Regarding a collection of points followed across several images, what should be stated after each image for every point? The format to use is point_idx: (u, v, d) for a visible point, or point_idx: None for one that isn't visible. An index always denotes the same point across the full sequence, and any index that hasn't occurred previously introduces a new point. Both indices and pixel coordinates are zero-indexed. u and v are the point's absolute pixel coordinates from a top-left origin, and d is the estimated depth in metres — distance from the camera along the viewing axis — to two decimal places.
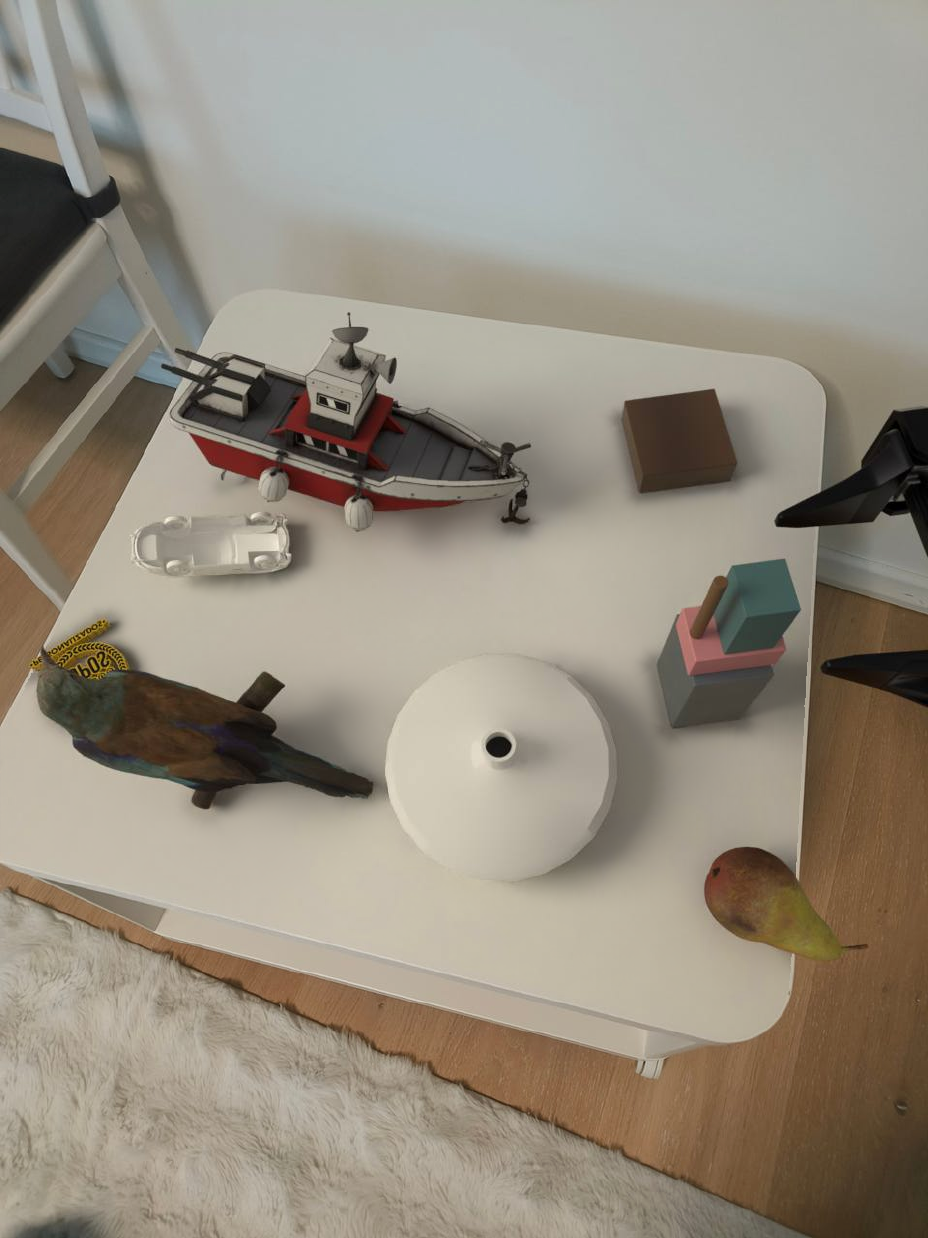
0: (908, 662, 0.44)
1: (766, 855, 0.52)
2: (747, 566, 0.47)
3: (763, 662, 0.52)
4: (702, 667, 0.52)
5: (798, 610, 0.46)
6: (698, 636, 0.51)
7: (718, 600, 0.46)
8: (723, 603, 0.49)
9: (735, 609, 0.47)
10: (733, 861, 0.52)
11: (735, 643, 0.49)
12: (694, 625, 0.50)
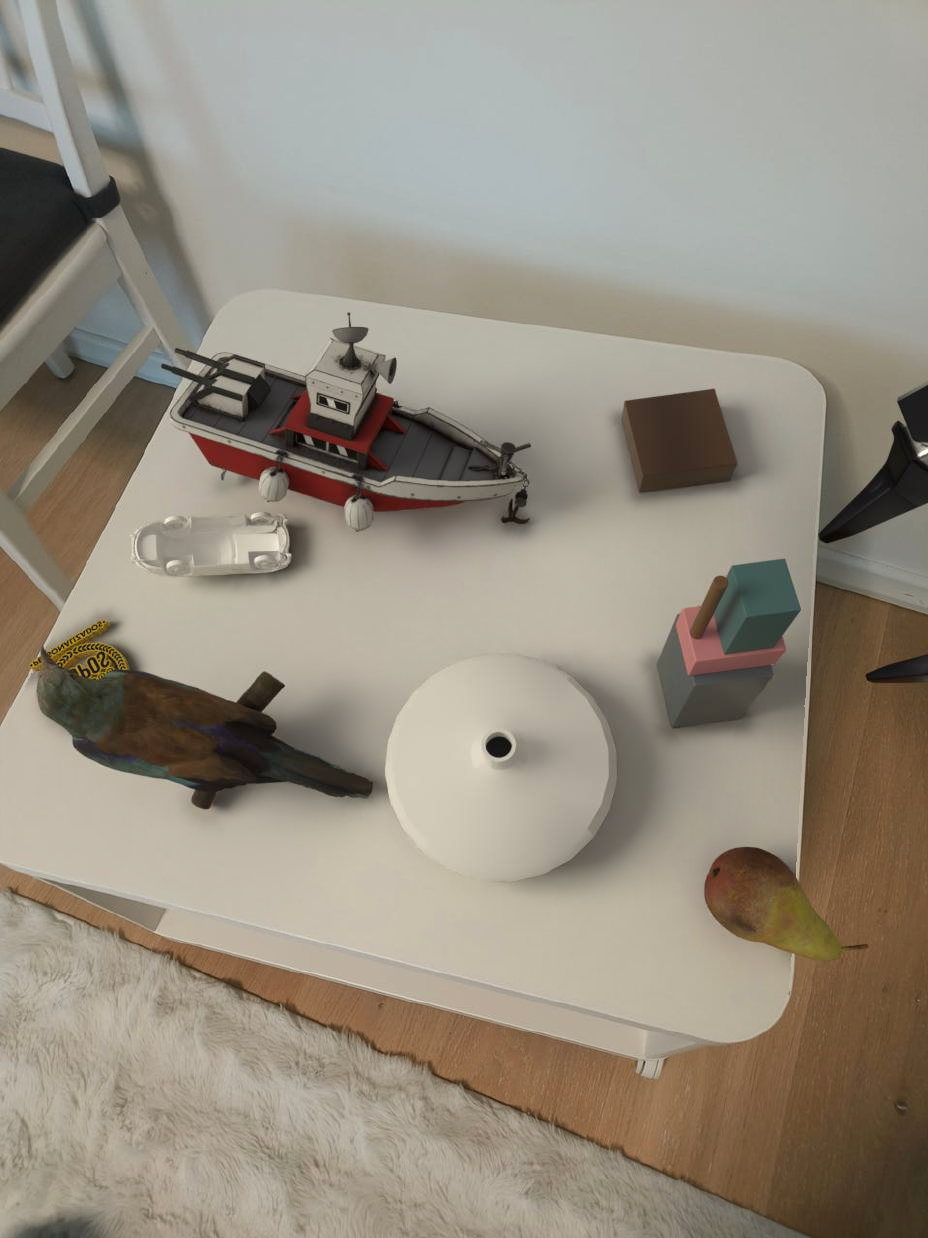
0: None
1: (766, 855, 0.52)
2: (747, 566, 0.47)
3: (763, 662, 0.52)
4: (702, 667, 0.52)
5: (798, 610, 0.46)
6: (698, 636, 0.51)
7: (718, 600, 0.46)
8: (723, 603, 0.49)
9: (735, 609, 0.47)
10: (733, 861, 0.52)
11: (735, 643, 0.49)
12: (694, 625, 0.50)
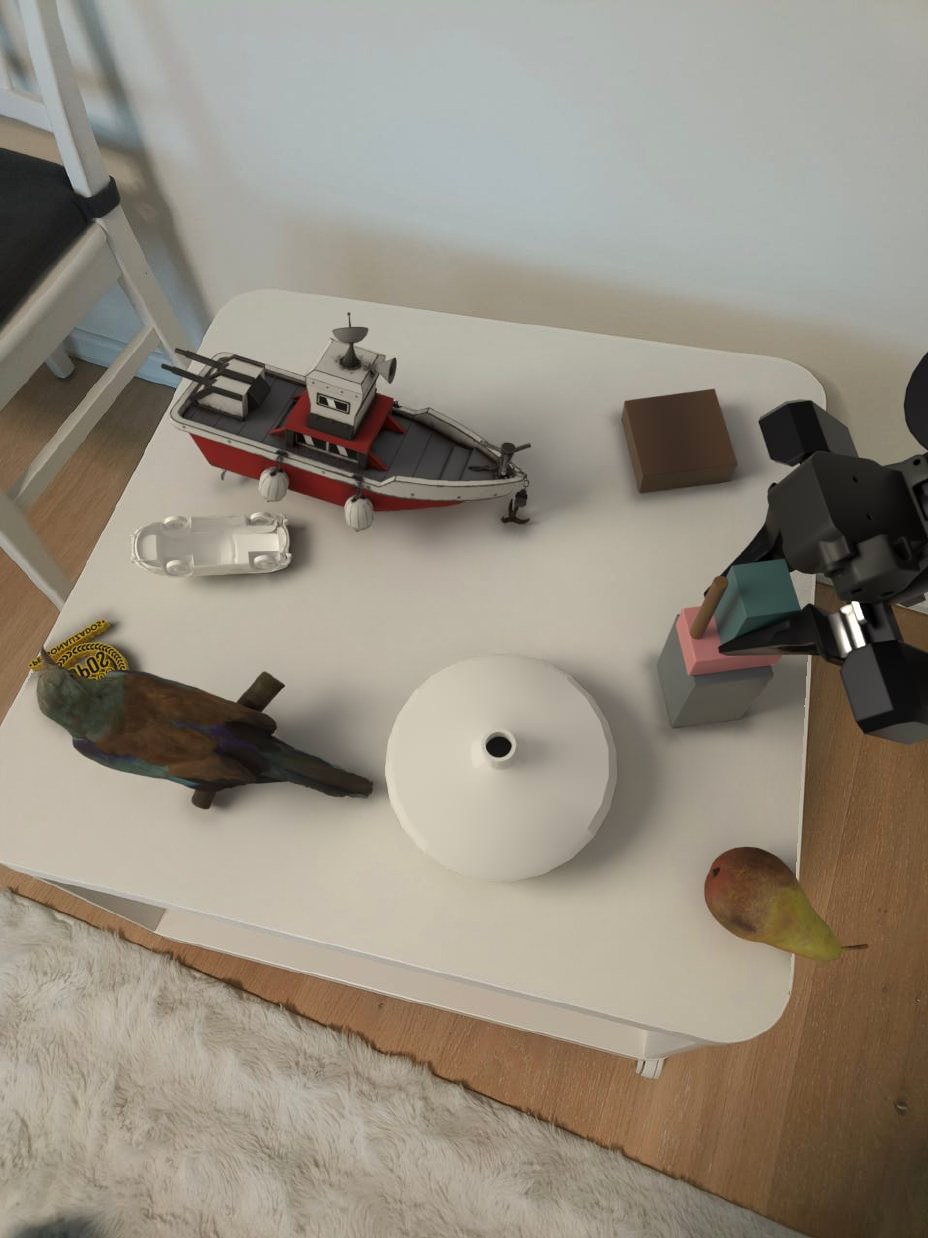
0: (772, 636, 0.46)
1: (766, 855, 0.52)
2: (747, 567, 0.47)
3: (763, 662, 0.52)
4: (702, 667, 0.52)
5: (798, 610, 0.46)
6: (698, 636, 0.51)
7: (718, 600, 0.46)
8: (723, 603, 0.49)
9: (735, 609, 0.47)
10: (733, 861, 0.52)
11: None
12: (694, 625, 0.50)
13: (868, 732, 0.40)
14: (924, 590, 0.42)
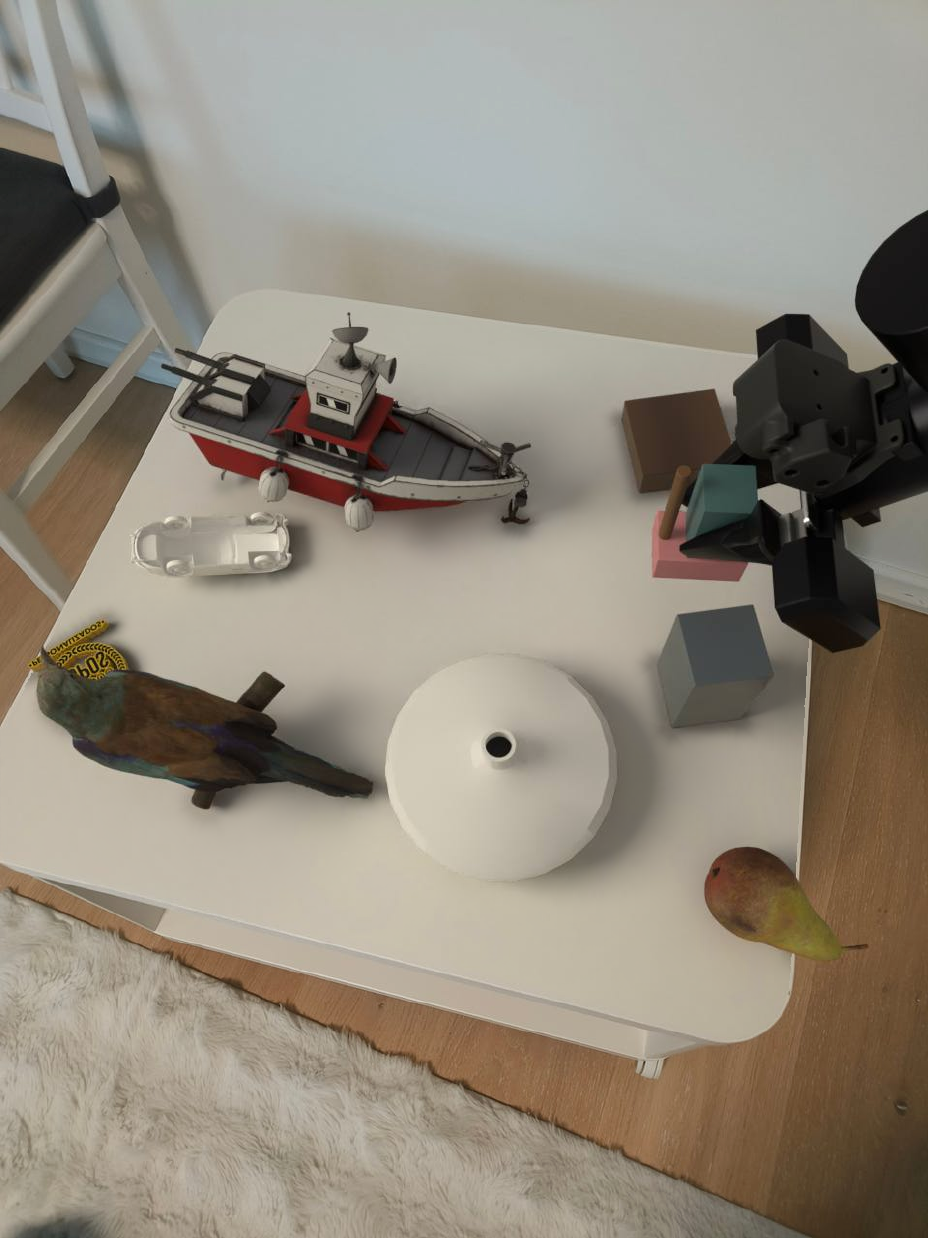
0: (727, 534, 0.47)
1: (766, 855, 0.52)
2: (717, 467, 0.48)
3: (726, 576, 0.53)
4: (665, 568, 0.53)
5: None
6: (665, 536, 0.52)
7: (681, 492, 0.48)
8: (692, 505, 0.51)
9: (699, 506, 0.49)
10: (733, 861, 0.52)
11: None
12: (661, 523, 0.52)
13: (785, 620, 0.41)
14: (873, 502, 0.43)
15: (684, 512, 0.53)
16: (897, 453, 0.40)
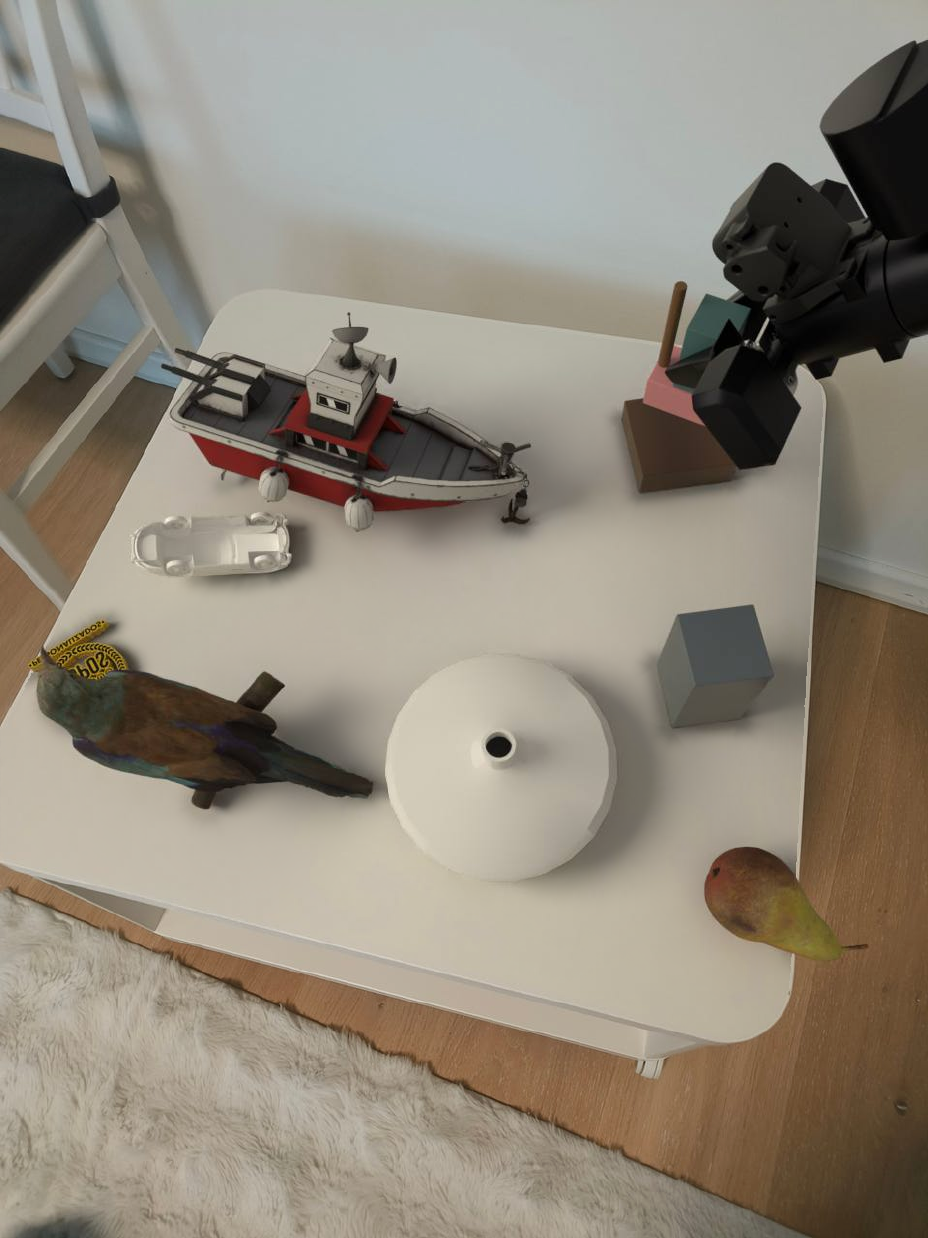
0: (700, 356, 0.53)
1: (766, 855, 0.52)
2: (717, 299, 0.53)
3: None
4: (653, 394, 0.59)
5: None
6: (661, 362, 0.58)
7: (676, 309, 0.53)
8: None
9: None
10: (733, 861, 0.52)
11: None
12: (661, 346, 0.57)
13: (696, 408, 0.47)
14: (820, 343, 0.47)
15: None
16: (841, 288, 0.44)
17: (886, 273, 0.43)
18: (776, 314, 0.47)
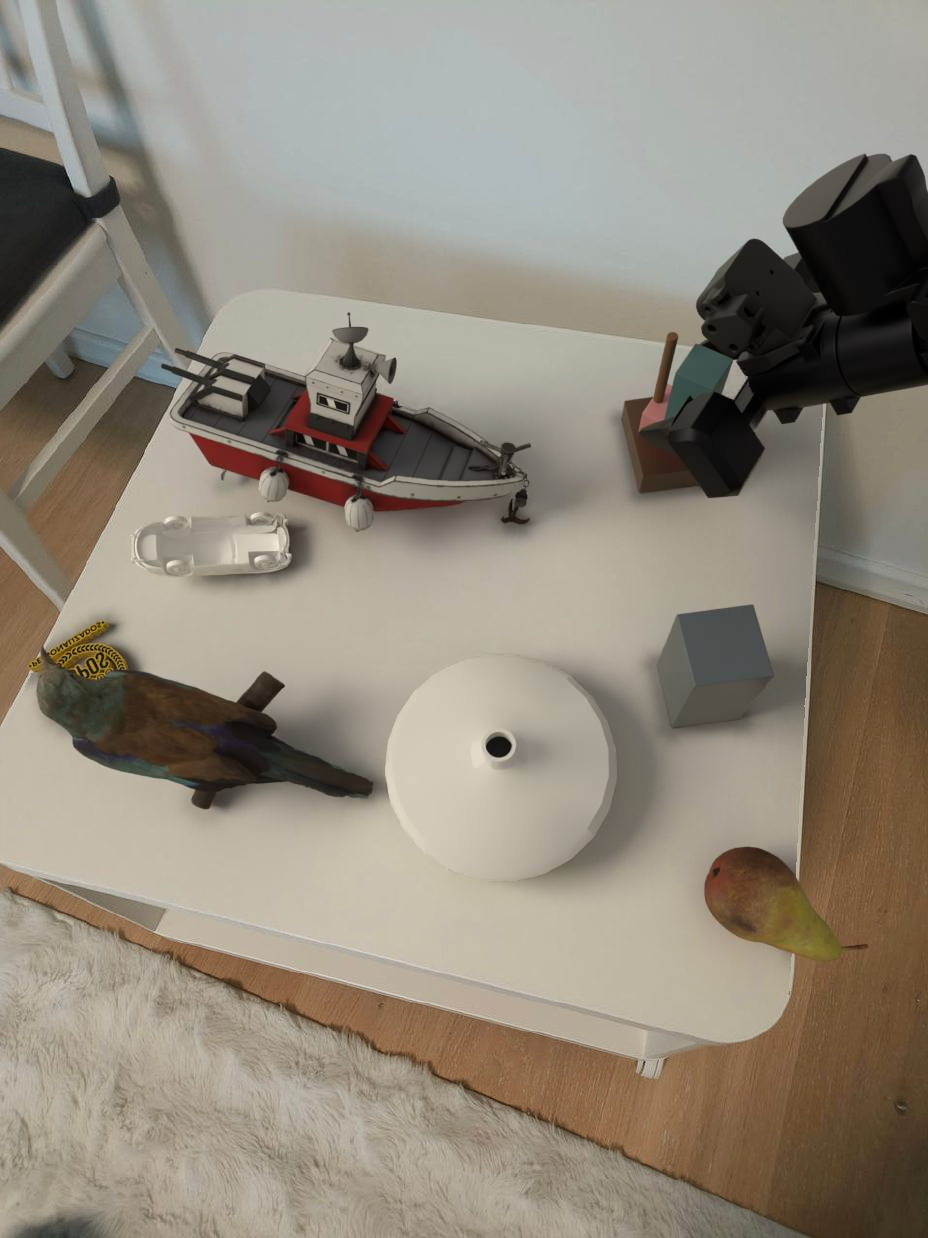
0: (667, 423, 0.60)
1: (766, 855, 0.52)
2: (704, 349, 0.61)
3: None
4: (647, 425, 0.67)
5: (711, 389, 0.60)
6: (656, 398, 0.66)
7: (668, 355, 0.61)
8: None
9: None
10: (733, 861, 0.52)
11: (670, 408, 0.64)
12: (656, 385, 0.65)
13: (671, 443, 0.55)
14: (783, 394, 0.55)
15: None
16: (800, 350, 0.52)
17: (837, 341, 0.50)
18: (747, 367, 0.54)
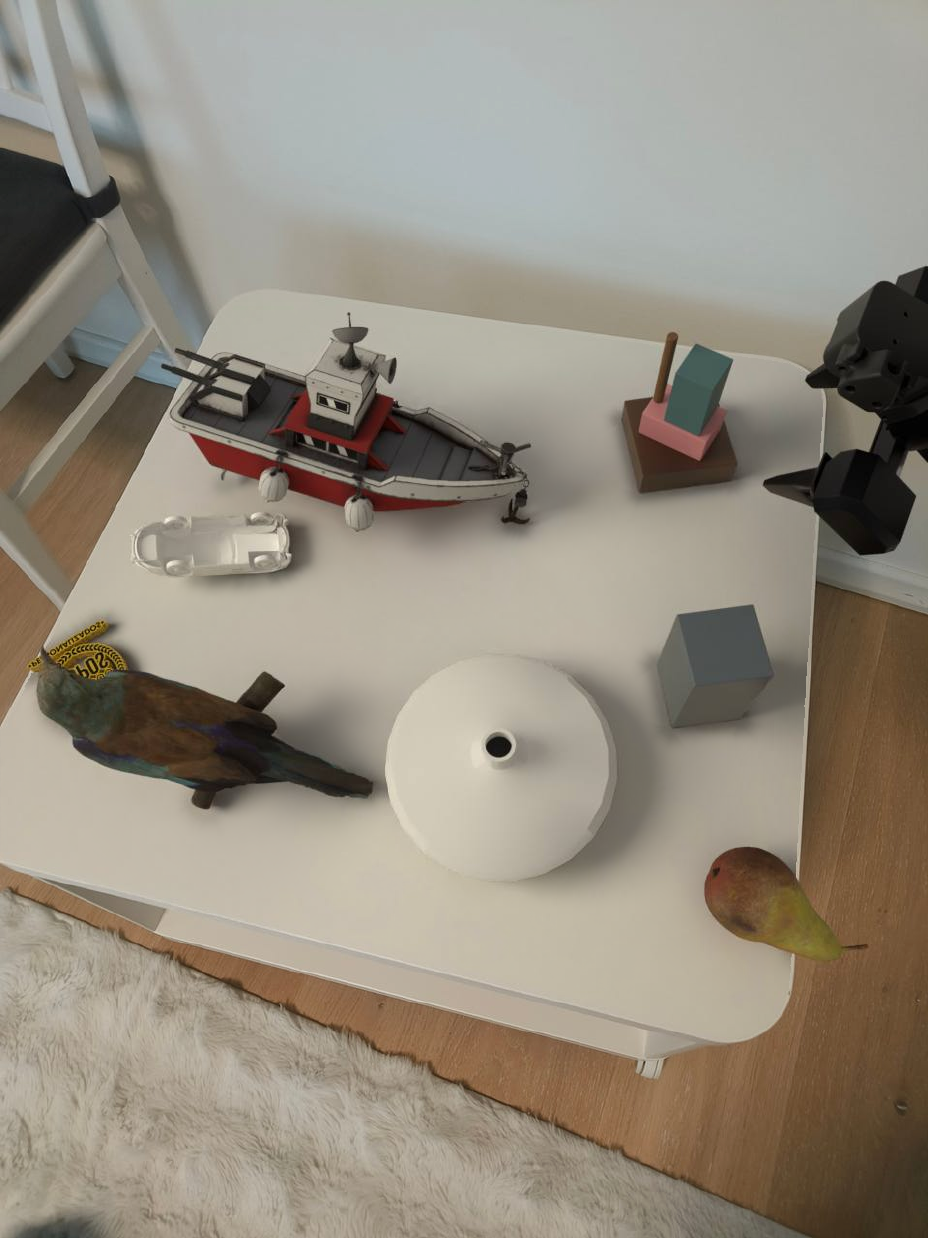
0: (798, 477, 0.56)
1: (766, 855, 0.52)
2: (704, 349, 0.61)
3: (690, 451, 0.66)
4: (647, 425, 0.67)
5: (711, 389, 0.60)
6: (656, 398, 0.66)
7: (668, 355, 0.61)
8: None
9: None
10: (733, 861, 0.52)
11: (670, 408, 0.64)
12: (656, 385, 0.65)
13: (817, 510, 0.51)
14: None
15: None
16: None
17: None
18: (888, 416, 0.50)
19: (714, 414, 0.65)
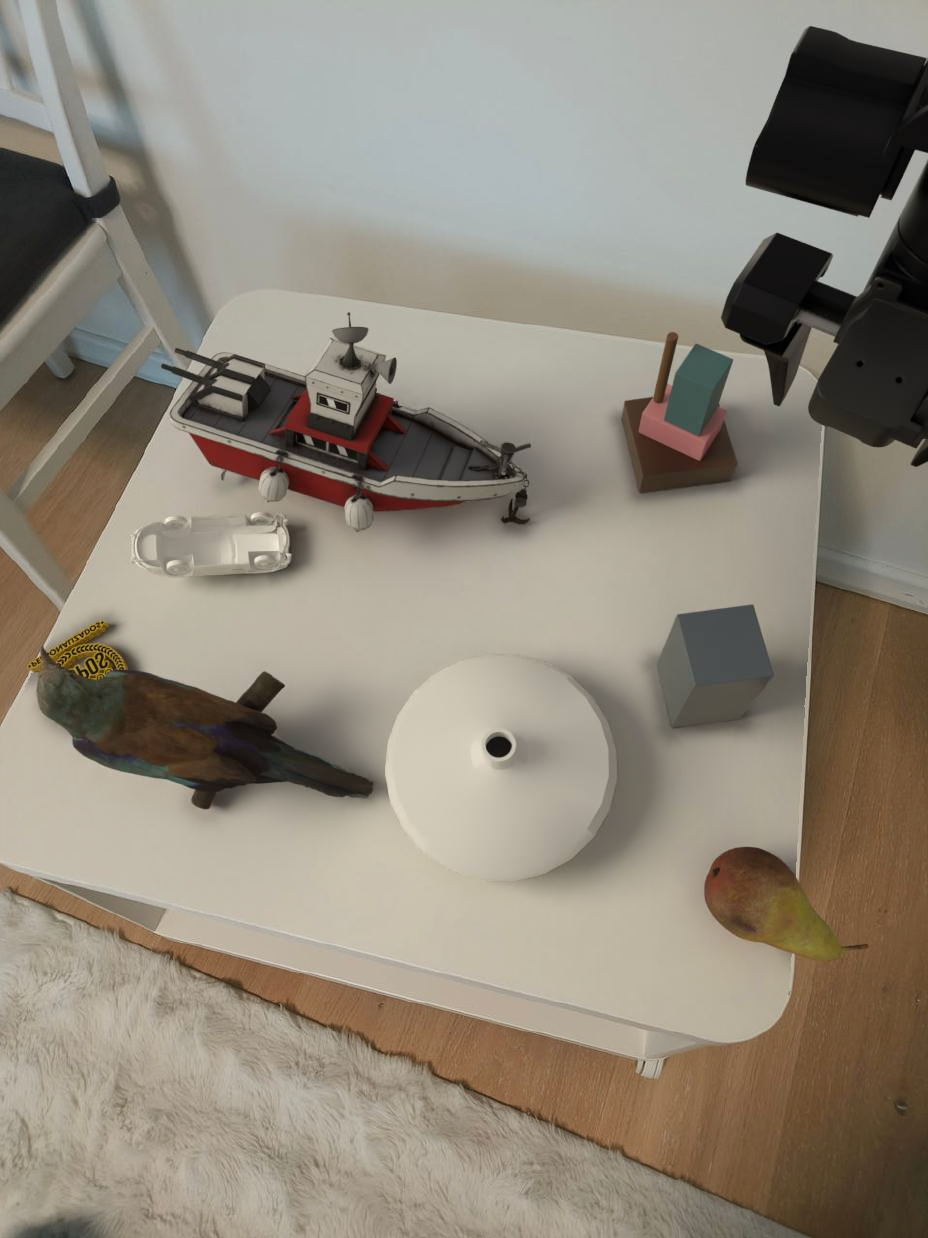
0: None
1: (766, 855, 0.52)
2: (704, 349, 0.61)
3: (690, 451, 0.66)
4: (647, 425, 0.67)
5: (711, 389, 0.60)
6: (656, 398, 0.66)
7: (668, 355, 0.61)
8: None
9: None
10: (733, 861, 0.52)
11: (670, 408, 0.64)
12: (656, 385, 0.65)
13: None
14: None
15: None
16: None
17: None
18: None
19: (714, 414, 0.65)
